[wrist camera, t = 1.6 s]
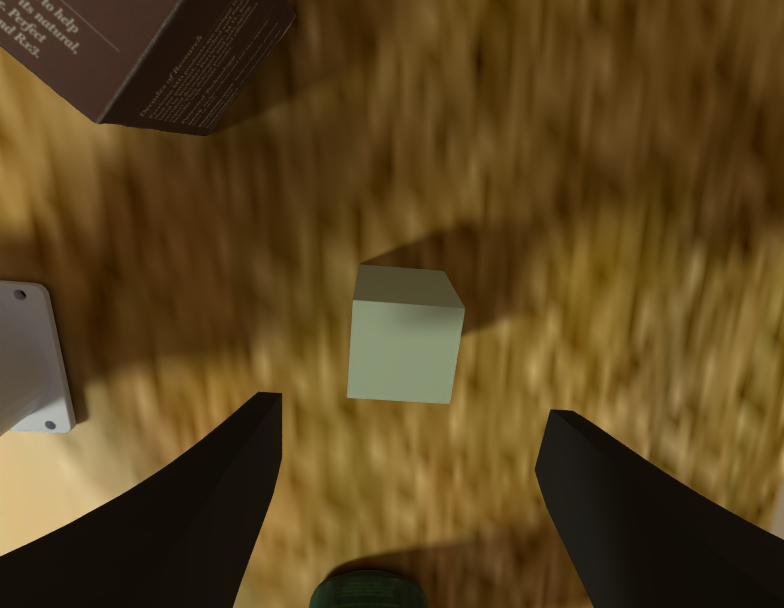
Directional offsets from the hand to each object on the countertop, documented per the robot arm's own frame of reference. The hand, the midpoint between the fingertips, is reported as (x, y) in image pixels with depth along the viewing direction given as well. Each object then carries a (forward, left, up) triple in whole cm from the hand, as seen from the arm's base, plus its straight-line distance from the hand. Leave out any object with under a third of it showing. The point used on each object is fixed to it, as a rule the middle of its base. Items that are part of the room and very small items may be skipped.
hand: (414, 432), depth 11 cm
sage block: (0, 0, -10) cm, 10 cm away
